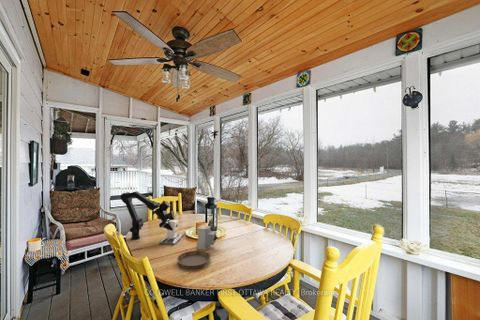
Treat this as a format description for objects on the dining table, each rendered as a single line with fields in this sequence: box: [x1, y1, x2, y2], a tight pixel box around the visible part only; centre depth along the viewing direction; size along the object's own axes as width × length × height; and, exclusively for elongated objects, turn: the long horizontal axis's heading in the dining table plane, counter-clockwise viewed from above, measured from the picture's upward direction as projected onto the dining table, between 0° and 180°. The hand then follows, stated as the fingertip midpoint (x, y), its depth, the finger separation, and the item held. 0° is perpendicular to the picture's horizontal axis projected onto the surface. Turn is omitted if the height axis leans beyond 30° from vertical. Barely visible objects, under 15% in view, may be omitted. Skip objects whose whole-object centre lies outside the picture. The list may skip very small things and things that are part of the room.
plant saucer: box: [176, 250, 211, 269], centre depth 136 cm, size 21×21×3 cm
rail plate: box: [159, 233, 185, 246], centre depth 175 cm, size 12×20×2 cm, turn 175°
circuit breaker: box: [196, 225, 218, 251], centre depth 160 cm, size 8×14×15 cm, turn 78°
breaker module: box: [166, 219, 179, 239], centre depth 175 cm, size 7×6×13 cm
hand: (174, 228), depth 175 cm, fingers closed on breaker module, 7 cm apart
